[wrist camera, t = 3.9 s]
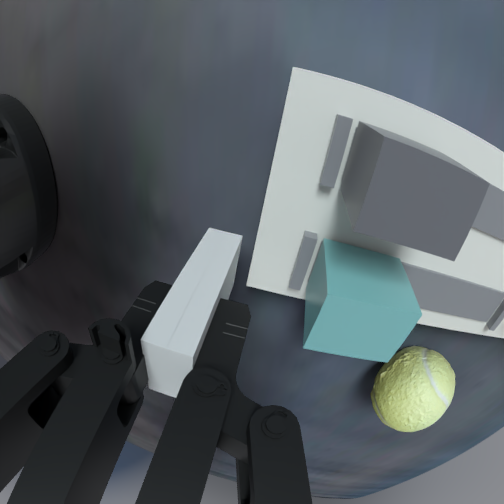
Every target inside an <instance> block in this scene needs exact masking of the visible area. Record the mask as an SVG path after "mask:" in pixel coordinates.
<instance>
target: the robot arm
mask: <svg viewBox="0 0 504 504" xmlns="http://www.w3.org/2000/svg"><path fill="white" fill-rule="evenodd" d="M56 221H57V197H56V188H55V181H54V175H53V170H52V166H51V162H50V158H49V155H48V151H47V148H46V145H45V143H44V140H43V137H42V135H41V133H40V131H39V128H38V126H37V124H36V122H35V121H34V119H33V117H32V116H31V114H30V113H29V111H28V110H27V109H26V108H25V106H24V105H23V104H22V103H21V102H19V101H18V100H17V99H16V98H14V97H12V96H10V95H6V94H0V278H1V277H3V276H6V275H8V274H11V273H14V272H16V271H19V270H21V269H24V268H25V267H27V266H29V265H30V264H31V263H32V262H33V261H35V260H36V259H37V258H38V257H39V256H40V255H41V254H43V253H44V252H45V251H46V250H47V248H48V247H49V245H50V244H51V242H52V239H53V236H54V233H55V228H56ZM242 237H243V236H241V235H237V234H233V233H229V232H225V231H221V230H216V229H212V228H209V229H208V230H207V232H206V234H205V235H204V237H203V238H202V240H201V241H200V243H199V244H198V246H197V248H196V249H195V251H194V252H193V254H192V255H191V257H190V259H189V260H188V262H187V263H186V265H185V267H184V268H183V270H182V271H181V273H180V275H179V276H178V278H177V279H176V281H175V283H174V284H173V286H172V285H169V284H166V283H162V282H159V281H154V282H152V283H151V284H149V285H148V286H146V287H145V288H144V289H143V291H142V292H141V293H140V295H139V296H138V299H136V301H135V302H134V303H133V306H132V307H131V308H130V309H129V311H128V312H127V314H126V315H125V317H124V318H123V320H122V321H119V320H115V319H101V320H99V321H97V322H94V323H93V324H92V325H91V326H90V327H89V328H88V329H89V333H90V336H91V339H92V342H93V345H82V344H73V343H69V341H68V339H67V338H66V337H65V335H64V334H62V333H60V332H58V331H47V332H44V333H42V334H41V335H39V336H38V337H36V338H35V339H34V340H33V341H32V342H31V343H29V344H28V345H27V346H26V347H25V348H24V349H22V350H21V351H20V352H19V353H18V354H17V355H16V356H14V357H13V358H12V359H11V360H10V361H9V362H8V363H7V364H6V365H4V366H3V367H2V368H1V369H0V492H1V491H2V490H3V489H4V487H5V486H6V485H7V484H8V483H9V482H10V481H11V480H12V479H13V478H14V476H15V475H16V474H17V473H18V472H19V471H20V470H21V469H22V467H24V468H23V470H22V472H21V474H20V476H19V478H18V480H17V482H16V485H15V487H14V489H13V491H12V493H11V496H10V498H9V500H8V503H7V504H100V501H101V499H102V496H103V494H104V491H105V489H106V486H107V484H108V481H109V479H110V476H111V474H112V472H113V469H114V467H115V465H116V462H117V460H118V457H119V455H120V453H121V451H122V448H123V446H124V444H125V441H126V439H127V437H128V435H129V432H130V430H131V428H132V425H133V423H134V421H135V419H136V416H137V414H138V412H139V410H140V408H141V405H142V403H143V399H144V395H143V390H144V388H145V386H146V384H147V382H148V385H149V389H152V390H154V391H157V392H160V393H163V394H166V395H169V396H172V397H175V398H176V399H175V402H174V405H173V407H172V410H171V412H170V415H169V417H168V420H167V422H166V425H165V427H164V430H163V432H162V435H161V438H160V440H159V443H158V445H157V448H156V451H155V453H154V456H153V458H152V461H151V464H150V466H149V469H148V471H147V474H146V477H145V479H144V482H143V485H142V487H141V490H140V492H139V495H138V498H137V500H136V503H135V504H200V502H201V498H202V495H203V491H204V488H205V484H206V481H207V477H208V474H209V470H210V467H211V463H212V460H213V456H214V453H215V449H216V447H218V448H220V449H221V450H223V451H225V452H226V453H228V454H230V455H232V456H233V457H235V458H236V472H237V490H238V504H312V499H311V492H310V486H309V479H308V473H307V467H306V460H305V454H304V448H303V442H302V436H301V430H300V425H299V422H298V420H297V417H296V416H295V415H294V414H293V413H292V412H291V411H290V410H288V409H286V408H284V407H282V406H275V405H270V406H265V407H262V406H261V405H259V404H257V403H255V402H253V401H252V400H250V399H248V398H247V397H246V396H244V395H243V393H242V392H241V391H240V390H239V388H238V386H237V383H236V372H237V368H238V364H239V360H240V356H241V353H242V349H243V345H244V341H245V337H246V333H247V329H248V325H249V322H250V318H251V315H250V312H249V308H248V305H246V304H242V303H238V302H234V301H230V300H228V299H229V296H230V293H231V290H232V288H233V285H234V280H235V274H236V269H237V263H238V258H239V253H240V247H241V242H242ZM24 465H25V466H24Z"/></svg>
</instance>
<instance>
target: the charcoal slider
mask: <svg viewBox="0 0 504 504" xmlns="http://www.w3.org/2000/svg"><path fill="white" fill-rule="evenodd" d="M489 184H490V183H489V182H487V181H486V180H484V179H483V178H481V177H480V176H478V175H477V174H475V173H474V172H472V171H471V170H469V169H468V168H466V167H465V166H463V165H461V164H460V163H458V162H457V161H455V160H453V159H452V158H450V157H448V156H447V155H445V154H443V153H441V152H439V151H437V150H435V149H432V148H430V147H428V146H426V145H423V144H421V143H418V142H416V141H414V140H411V139H409V138H406V137H403V136H401V135H398V134H396V133H393V132H390V131H388V130H385V129H382V128H379V127H376V126H373V125H370V124H367V123H364V122H361V121H359V123H358V127H357V131H356V134H355V138H354V142H353V145H352V149H351V152H350V156H349V159H348V163H347V166H346V169H345V173H344V176H343V179H342V183H341V186H340V190H341V193H342V196H343V199H344V202H345V206H346V209H347V212H348V215H349V219H350V222H351V226H352V229H353V231H354V232H358V233H361V234H365V235H368V236H372V237H375V238H379V239H382V240H386V241H389V242H393V243H396V244H399V245H403V246H406V247H409V248H413V249H416V250H419V251H423V252H426V253H429V254H432V255H435V256H439V257H442V258H445V259H448V260H451V261H455V259H456V257H457V255H458V253H459V252H460V250H461V248H462V246H463V244H464V242H465V240H466V238H467V236H468V233H469V231H470V229H471V227H472V225H473V223H474V221H475V218H476V216H477V214H478V212H479V209H480V207H481V205H482V202H483V200H484V197H485V195H486V192H487V190H488V187H489Z"/></svg>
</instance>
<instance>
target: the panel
mask: <svg viewBox="0 0 504 504" xmlns="http://www.w3.org/2000/svg"><path fill="white" fill-rule="evenodd" d="M359 121H361V122H364V123H367V124H370V125H373V126H376V127H379V128H382V129H385V130H388V131H390V132H393V133H396V134H398V135H401V136H403V137H406V138H409V139H411V140H414V141H416V142H418V143H421V144H423V145H426V146H428V147H430V148H432V149H435V150H437V151H439V152H441V153H443V154H445V155H447V156H448V157H450V158H452V159H453V160H455V161H457V162H458V163H460V164H461V165H463V166H465V167H466V168H468V169H469V170H471V171H472V172H474V173H475V174H477V175H478V176H480V177H481V178H483V179H484V180H486V181H487V182H489V183H490V184H489V187H488V190H487V192H486V195H485V197H484V200H483V202H482V205H481V207H480V209H479V212H478V214H477V216H476V218H475V221H474V223H473V225H472V227H471V229H470V231H469V233H468V236H467V238H466V240H465V242H464V244H463V246H462V248H461V250H460V252H459V253H458V255H457V257H456V259H455V261H451V260H448V259H445V258H442V257H439V256H435V255H432V254H429V253H426V252H423V251H419V250H416V249H413V248H409V247H406V246H403V245H399V244H396V243H393V242H389V241H386V240H382V239H379V238H375V237H372V236H368V235H365V234H361V233H358V232H354V231H353V229H352V226H351V222H350V219H349V215H348V212H347V209H346V206H345V202H344V199H343V196H342V193H341V190H340V186H341V183H342V179H343V176H344V173H345V169H346V166H347V163H348V159H349V156H350V152H351V149H352V145H353V142H354V138H355V134H356V131H357V127H358V123H359ZM324 238H325V239H329V240H333V241H337V242H341V243H345V244H348V245H352V246H356V247H360V248H363V249H367V250H371V251H374V252H378V253H382V254H385V255H389V256H393V257H396V258H400V260H401V263H402V265H403V267H404V270H405V272H406V274H407V277H408V279H409V282H410V284H411V286H412V289H413V291H414V294H415V297H416V299H417V302H418V304H419V307H420V310H421V312H422V316H421V318H420V319H419V320H418V322H417V323H418V324H423V325H428V326H434V327H439V328H445V329H450V330H456V331H462V332H468V333H473V334H479V335H486V336H492V337H498V338H504V152H502V151H501V150H499V149H498V148H496V147H494V146H493V145H491V144H490V143H488V142H486V141H485V140H483V139H481V138H479V137H478V136H476V135H474V134H472V133H471V132H469V131H467V130H465V129H463V128H462V127H460V126H458V125H456V124H454V123H452V122H450V121H448V120H446V119H444V118H442V117H440V116H438V115H436V114H433V113H431V112H429V111H427V110H425V109H422V108H420V107H418V106H416V105H413V104H411V103H409V102H406V101H404V100H401V99H399V98H396V97H393V96H391V95H388V94H386V93H383V92H380V91H377V90H374V89H371V88H369V87H366V86H363V85H359V84H356V83H353V82H350V81H347V80H343V79H340V78H336V77H333V76H329V75H325V74H321V73H317V72H313V71H309V70H305V69H300V68H296V67H293V70H292V74H291V79H290V84H289V88H288V93H287V98H286V102H285V107H284V112H283V117H282V121H281V126H280V131H279V135H278V140H277V145H276V149H275V154H274V159H273V163H272V168H271V173H270V177H269V182H268V187H267V192H266V196H265V201H264V206H263V210H262V215H261V220H260V224H259V229H258V234H257V238H256V243H255V247H254V252H253V257H252V261H251V266H250V271H249V275H248V280H247V285H246V286H250V287H254V288H258V289H262V290H266V291H270V292H274V293H278V294H283V295H287V296H291V297H295V298H300V299H304V300H305V297H306V286H307V284H308V281H309V278H310V275H311V273H312V270H313V267H314V264H315V262H316V259H317V256H318V253H319V250H320V247H321V244H322V241H323V239H324Z"/></svg>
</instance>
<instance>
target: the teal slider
mask: <svg viewBox="0 0 504 504" xmlns="http://www.w3.org/2000/svg"><path fill="white" fill-rule="evenodd" d="M421 316H422V312H421V310H420V307H419V304H418V302H417V299H416V297H415V294H414V291H413V289H412V286H411V284H410V282H409V279H408V277H407V274H406V272H405V270H404V267H403V265H402V263H401V260H400V258H396V257H393V256H389V255H385V254H382V253H378V252H374V251H371V250H367V249H363V248H360V247H356V246H352V245H348V244H345V243H341V242H337V241H333V240H329V239H325V238H324V239H323V241H322V244H321V247H320V250H319V253H318V256H317V259H316V262H315V264H314V267H313V270H312V273H311V275H310V278H309V281H308V284H307V286H306V297H305V319H304V338H303V348H305V349H310V350H315V351H320V352H325V353H331V354H336V355H342V356H348V357H354V358H360V359H366V360H373V361H380V362H387V363H388V362H389V360H390V359H391V358H392V356H393V355H394V354H395V353H396V351H397V350H398V349H399V347H400V346H401V345H402V343H403V342H404V340H405V339H406V338H407V336H408V335H409V333H410V332H411V331H412V329H413V328H414V326H415V325H416V323H417V322H418V320H419V319H420V318H421Z"/></svg>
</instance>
